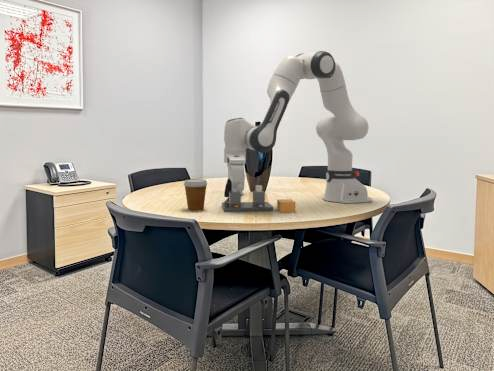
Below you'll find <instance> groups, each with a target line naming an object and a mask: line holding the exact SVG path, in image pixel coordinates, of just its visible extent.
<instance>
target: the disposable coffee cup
mask: <svg viewBox="0 0 494 371" xmlns="http://www.w3.org/2000/svg"><path fill="white" fill-rule="evenodd" d="M183 185H184V189H185V191H184V192H185V198H186V205H187V210H188V211H191V212H201V211H204V209H205V200H206V198H205V197H206V191H207V185H208V182H207V180H206V179H203V178H202V179H201V178H196V179H195V178H193V179H192V178H191V179H186V180H184V183H183Z"/></svg>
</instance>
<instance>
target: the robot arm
mask: <svg viewBox="0 0 494 371" xmlns="http://www.w3.org/2000/svg"><path fill="white" fill-rule="evenodd" d="M334 58H335V57H333V55H332V54H331V53H330V52H329V51H328V52H327V51H324V50H319V51H317V50H315V51H308V52H305V53H303V52H302V53H299V54H297V55H294V54H292V55H291V54H289V55H285V57H283V58H282V60H281V61H280V63H279V64H278V65H277V67H276V69H274V72H273V74H272V76H271V78H270V80H269V83H268V84H267V85H268V86H267V89H266V93H267V96H268V97H269V99H270V101H269V102H270V103H269V106H268V108H267V111H266V112H265V115H264V118H263V120H262V122H261V123H260V124H259V125H255V124H253V123H251V122H249V121H247V120H246V119H245V118H244V117H236V118H230V119H228V120H227V121H226V122H225V125H224V133H223V141H224V149H223V163H225V164H226V165H227V166H226V167H227V179H228V178H229V179H230V180H231V181H232V191H233V192H237V188H238V184H241V183H242V181H243V173H244V174H245V165H246V163H247V161H246V160H247V156H246V155H247V149H249V150H252V151H256V152H258V153H262V154H263V153H267V152H269V151H271V150H273V148H274V147H275V145H276V142H277V132H278V128H279V126H280V123H281V122H282V118H283V117H284V115H285V112H286V110H287V107H288V104H289V103H290V101H291V99H292V96H293V95H294V93H295V91H296V90H297V87H298V86H299V84H300V81H301V80H304V79H305V80H314V79H316V80H317V82H318V86H319V90H320V96H321V99H322V100H321V101H322V104H323V108H325V110H327V111H328V112H330V113H331V114H332V115H333V116H331V115H330V116H326V117H323V118H320V119H319V120H318V121H317V123H316V126H315V127H316V128H315V130H316V134H317V136H318V137H319V138H320V139H321V140H322V142H323V143H324V146H325V147H326V152H327V170H326V174H325V179H326V180H325V181H326V187H325V192H324V194H323V198H322V199H323V200H325V201H326V202H333V203H340V204H341V203H342V204H355V203H356V204H359V203H371V202H373V198H372V197H370V196H369V194H368V188H367V187H366V186H365V185H364V184H363V183H362V182H360V181H359V180H358V179H357V178H356V177H359V176H360V172H359V171H355V170H354V169H353V153H352V151H351V150H350V149H348V148H347V147H346V146H345V143H344V141H356V140H361V139H365V137H367V135H368V132H369V128H370V126H369V122H368V121H367V119H366V118H365V117H364V116H362V115H360V114H359V113H358V112H357V110H355V108H354V107H353V105H352V103H351V101H350V97H349V95H348V90H347V85H346V81H345V78H344V74H343V71H342V68H341V66H340V64H339V63H338V62H337V61H335V59H334Z"/></svg>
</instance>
